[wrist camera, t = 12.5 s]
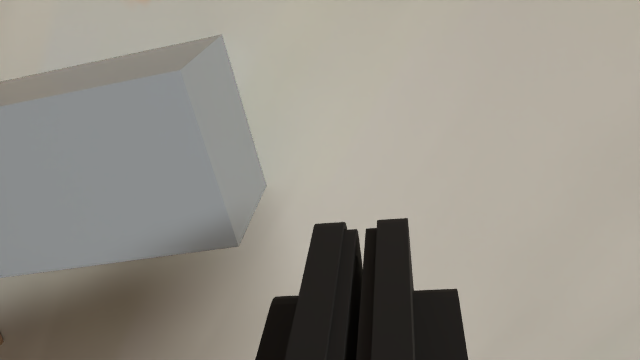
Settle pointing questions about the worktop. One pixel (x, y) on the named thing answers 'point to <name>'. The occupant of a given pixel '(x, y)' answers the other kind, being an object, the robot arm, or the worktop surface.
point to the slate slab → (125, 160)
